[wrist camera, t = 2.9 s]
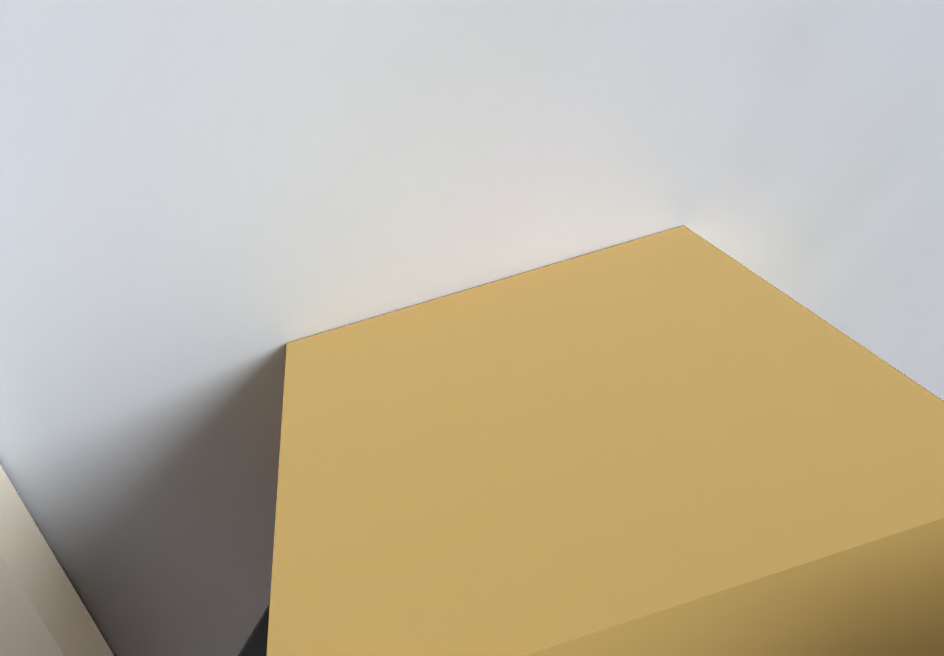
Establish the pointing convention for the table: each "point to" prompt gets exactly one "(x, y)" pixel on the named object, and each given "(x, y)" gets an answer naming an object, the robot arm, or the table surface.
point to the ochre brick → (607, 474)
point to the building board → (38, 592)
